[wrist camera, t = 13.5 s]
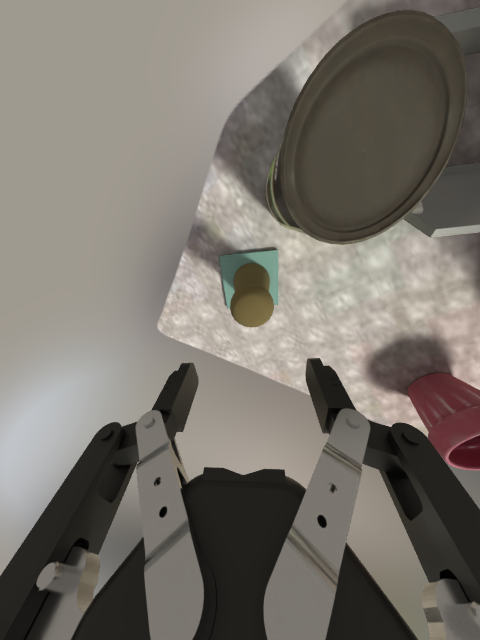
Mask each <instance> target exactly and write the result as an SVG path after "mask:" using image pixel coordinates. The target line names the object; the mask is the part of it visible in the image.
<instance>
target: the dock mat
mask: <svg viewBox="0 0 480 640" xmlns="http://www.w3.org/2000/svg"><path fill="white" fill-rule="evenodd" d="M219 260H220V266H221V272H222V278H223V285H224V291H225V297H226V303H227V308H230V302H231V298H232V296H233V294H234V293H235V291H234V283H233V280H234V275H235V273H236V271H237V270H238V269H239V268H240V267H241V266H243V265H244V264H248V263H257V264H259V265H261V266H263V267H264V268H265V269H266V270H267V271H268V274H269V276H270V287H269V293H270V294H271V296H272V298H273V302H274V305H278V250H268V251H259V252H250V253H241V254H231V255H222V256H219Z"/></svg>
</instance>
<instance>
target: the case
mask: <svg viewBox="0 0 480 640" xmlns="http://www.w3.org/2000/svg"><path fill="white" fill-rule="evenodd" d="M434 18H436V19H437V20H439V21H440V22H442V23H443V24H444V25H445V26H446V27H447V28H448V29H449V30H450V32H451V33H452V34H453V35H454V37H455V38H456V40H457V41H458V43H459V45H460V48H461V50H462V52H463V55H466V54H471V53H476V52H480V7H477V8H472V9H468V10H463V11H459V12H454V13H450V14H445V15H441V16H436V17H434ZM403 219H404V220H405V221H407V222H408V223H410V224H411V225H413V226H414V227H416V228H417V229H418V230H420V231H421V232H423V233H424V234H426V235H427V236H428V237H430V238H432V237H441V236H451V235H460V234H470V233H479V232H480V162H478V163H471V164H464V165H457V166H450V167H445V168H444V170H443V172H442V173H441V175H440V177H439V178H438V180H437V181H436V183H435V184H434V186H433V187H432V188H431V190H430V191H429V192H428V194H427V195H426V196H425V197H424V198H423V200H422V201H421V202H420V203H419V204H418V205H417V206H416V207H415V208H414V209H413V210H412V211H411V212H410V213H409V214H408V215H407V216H405V217H404V218H403Z"/></svg>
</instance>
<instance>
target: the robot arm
mask: <svg viewBox="0 0 480 640" xmlns="http://www.w3.org/2000/svg"><path fill="white" fill-rule="evenodd" d="M306 383H307V386H308V389H309V392H310V395H311V398H312V401H313V405H314V408H315V410H316V414H317V417H318V420H319V423H320V426H321V429H322V432H323V433H329V435H330V436H329V438H328V441H327V443H326V445H325V446H324V448H323V451H322V453H321V456H320V458H319V461H318V463H317V466H316V468H315V470H314V473H313V475H312V478H311V480H310V483H309V485H308V488H307V490H306V489H305V488H304V487H303V486H302V485H300V484H299V483H298V482H296V481H295V480H293V479H291V478H289V477H287V476H285V471H284V470H280V469H263V470H259V471H256V472H253V473H249V474H246V475H240V474H238V473H235V472H233V471H230V470H227V469H225V468H208V467H205V468H204V472H203V474H201V475H199V476H197V477H195V478H194V479H192V480H191V481H189V478H188V476H187V474H186V471H185V469H184V466H183V463H182V459H181V456H180V453H179V450H178V447H177V444H176V441H175V435H176V432H183V430H184V427H185V424H186V420H187V418H188V415H189V411H190V408H191V405H192V402H193V399H194V396H195V393H196V390H197V387H198V376H197V373H196V369H195V366H194V364H193V363H182V364H181V366H180V368H179V370H178V371H174V372H173V373H172V374H171V375H170V376H169V378H168V380H167V382H166V384H165V385H164V388H163V390H162V391H161V393H160V395H159V397H158V399H157V401H156V403H155V404H154V406H153V408H152V410H151V411H149V412H147V413H146V414H144V415H143V416H142V417H141V418H140V419H139V421H138V422H135V423H132V424H129V425H126V426H123V427H122V426H121V425H120V424H119V423H117V422H113V423H110V424H107V425H106V426H104V427H103V428H102V429H100V430H99V431H98V432H97V433H96V435H95V436H94V438H93V439H92V441H91V442H90V444H89V445H88V447H87V448H86V450H85V451H84V453H83V454H82V456H81V457H80V458H79V460H78V461H77V463H76V464H75V466H74V467H73V469H72V470H71V472H70V473H69V475H68V476H67V478H66V479H65V481H64V482H63V484H62V485H61V487H60V489H59V490H58V491H57V493H56V494H55V496H54V497H53V499H52V500H51V502H50V503H49V505H48V506H47V508H46V509H45V511H44V512H43V513H42V515H41V516H40V518H39V519H38V521H37V522H36V524H35V525H34V527H33V528H32V530H31V531H30V533H29V534H28V536H27V537H26V539H25V540H24V542H23V543H22V545H21V546H20V548H19V549H18V551H17V552H16V554H15V555H14V557H13V558H12V560H11V561H10V563H9V564H8V566H7V567H6V569H5V570H4V571H3V573H2V574H1V576H0V640H418V639H417V637H416V636H415V634H414V633H413V631H412V630H411V629H410V627H409V626H408V625H407V623H406V622H405V621H404V619H403V618H402V617H401V615H400V614H399V613H398V611H397V610H396V608H395V607H394V606H393V604H392V603H391V602H390V601H389V599H388V598H387V596H386V595H385V594H384V593H383V591H382V590H381V588H380V587H379V586H378V584H377V583H376V582H375V580H374V579H373V578H372V576H371V575H370V574H369V572H368V571H367V570H366V568H365V567H364V566H363V564H362V563H361V562H360V560H359V559H358V557H357V556H356V555H355V553H354V552H353V551H352V549H351V548H350V547H349V546H348V544H347V543H346V540H347V536H348V531H349V527H350V523H351V518H352V514H353V509H354V505H355V500H356V497H357V492H358V487H359V483H360V479H361V474H362V470H361V467H362V464H365V465H368V466H370V467H373V468H376V469H379V471H380V473H381V475H382V477H383V480H384V482H385V484H386V487H387V489H388V491H389V493H390V496H391V497H392V500H393V502H394V505H395V507H396V509H397V511H398V513H399V516H400V518H401V520H402V522H403V525H404V527H405V529H406V531H407V534H408V536H409V538H410V540H411V543H412V545H413V547H414V549H415V551H416V554H417V556H418V558H419V560H420V563H421V565H422V567H423V570H424V572H425V574H426V576H427V579H428V581H429V583H428V584H426V585H425V586H424V588H423V590H422V604H423V609H424V612H425V615H426V619H427V622H428V626H429V632H430V640H480V509H479V508H478V507H477V505H476V504H475V503H474V501H473V500H472V498H471V497H470V496H469V494H468V493H467V492H466V490H465V489H464V487H463V486H462V485H461V483H460V482H459V481H458V479H457V478H456V476H455V475H454V474H453V472H452V471H451V470H450V468H449V467H448V465H447V464H446V463H445V461H444V460H443V458H442V457H441V456H440V454H439V453H438V452H437V450H436V449H435V447H434V446H433V445H432V443H431V442H430V441H429V439H428V438H427V437H426V436H425V435H424V434H423V433H422V432H421V431H420V430H418V429H417V428H415V427H413V426H411V425H409V424H406V423H395V424H393V425H392V427H389V426H385V425H381V424H378V423H375V422H372V421H369V420H368V419H366V418H365V416H364V415H362V414H361V413H360V412H358V411H357V410H356V409H355V407H354V405H353V403H352V402H351V400H350V398H349V396H348V394H347V392H346V390H345V388H344V387H343V386H342V383H341V381H340V380H339V377H338V375H337V373H336V372H335V371H334V370H333V369H332V368H331V367H330V366H323V364H322V361H321V359H320V358H309V359H307V366H306ZM139 461H140V462H139ZM137 462H139V463H138V464H137ZM136 464H137V467H136ZM135 467H136V470H137V480H138V490H139V499H140V508H141V517H142V527H143V538H142V539H141V540H140V542H139V543H138V544H137V545H136V547H135V548H134V549H133V550H132V551H131V553H130V554H129V555H128V556H127V558H126V559H125V560H124V562H123V563H122V564H121V565H120V566H119V568H118V569H117V570H116V571H115V573H114V574H113V575H112V576H111V578H110V579H109V580H108V581H107V583H106V584H105V585H104V586H103V588H102V589H101V590H100V591H99V593H98V594H97V595H96V596H95V598H94V599H93V593H94V589H95V587H96V585H97V583H98V574H99V570H100V559H99V556H98V554H99V552H100V549H101V547H102V544H103V542H104V540H105V538H106V535H107V533H108V530H109V528H110V526H111V523H112V521H113V519H114V516H115V514H116V512H117V509H118V506H119V504H120V502H121V500H122V497H123V495H124V492H125V490H126V488H127V486H128V483H129V481H130V479H131V476H132V473H133V471H134V469H135Z"/></svg>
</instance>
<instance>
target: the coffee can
mask: <svg viewBox="0 0 480 640" xmlns="http://www.w3.org/2000/svg"><path fill="white" fill-rule="evenodd" d="M467 86H468V82H467V70H466V65H465V60H464V55H463V52H462V50H461V48H460V45H459V43H458V41H457V40H456V38H455V37H454V35H453V34H452V33H451V32H450V30H449V29H448V28H447V27H446V26H445V25H444V24H443V23H442V22H440V21H439V20H437V19H436V18H434V17H433V16H431V15H428V14H426V13H424V12H418V11H413V10H403V11H396V12H392V13H387V14H384V15H381V16H378V17H376V18H374V19H372V20H370V21H368V22H366V23H364V24H362V25H360V26H359V27H357V28H356V29H354V30H352V31H351V32H350V33H348V34H347V35H346V36H345V37H343V38H342V39H341V40H340V41H339V42H338V43H337V44H336V45H335V46H334V47H333V48H332V49H331V50H330V51H329V52H328V53H327V54H326V55H325V56H324V58H323V59H322V60H321V61H320V62H319V64H318V65H317V67H316V68H315V70H314V71H313V72H312V74H311V75H310V76H309V78H308V80H307V82H306V83H305V85H304V87H303V89H302V90H301V92H300V94H299V96H298V98H297V100H296V103H295V105H294V107H293V110H292V112H291V114H290V117H289V120H288V123H287V126H286V130H285V134H284V137H283V140H282V142H281V144H280V147H279V150H278V152H277V154H276V157H275V158H274V160H273V162H272V164H271V167H270V170H269V173H268V177H267V183H266V198H267V203H268V207H269V209H270V212H271V213H272V215H273V217H274V218H275V219H276V220H277V221H278V222H279V223H280V224H281V225H282V226H284V227H286V228H288V229H292V230H296V231H298V232H302V233H305V234H307V235H309V236H311V237H313V238H315V239H316V240H319V241H322V242H325V243H329V244H342V245H344V244H352V243H357V242H361V241H365V240H367V239H370V238H372V237H375V236H377V235H379V234H381V233H383V232H385V231H386V230H388V229H389V228H391V227H393V226H394V225H395V224H397V223H398V222H399V221H401V220H402V219H403V218H404V217H405V216H407V215H408V214H409V213H410V212H411V211H412V210H413V209H414V208H415V207H416V206H417V205H418V204H419V203H420V202H421V201H422V200H423V198H424V197H425V196H426V195H427V194H428V192H429V191H430V190H431V188H432V187H433V186H434V184H435V183H436V181H437V180H438V178H439V177H440V175H441V173H442V172H443V170H444V168H445V167H446V165H447V163H448V161H449V159H450V157H451V155H452V152H453V150H454V147H455V145H456V142H457V139H458V137H459V133H460V130H461V127H462V123H463V119H464V114H465V107H466V100H467Z"/></svg>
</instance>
